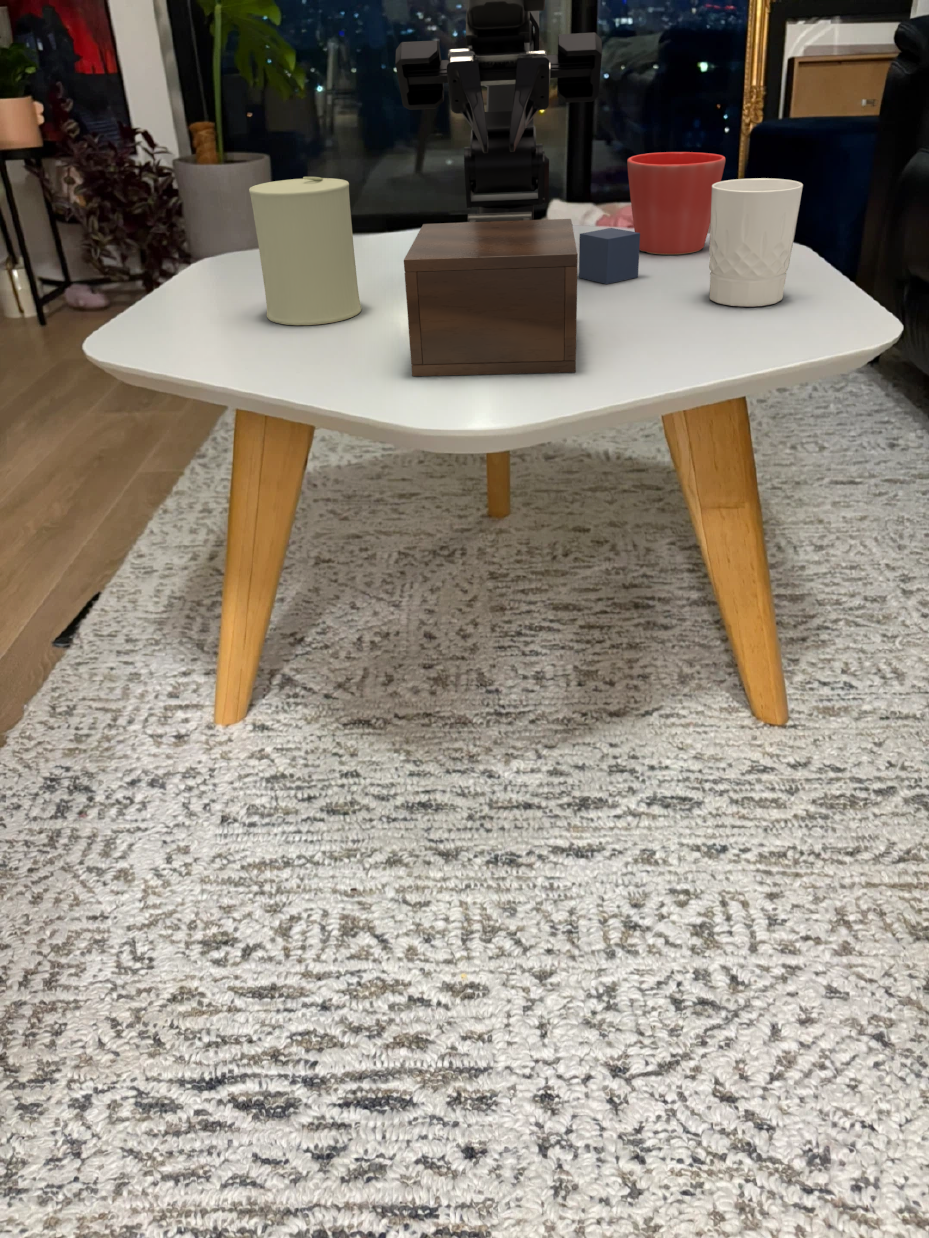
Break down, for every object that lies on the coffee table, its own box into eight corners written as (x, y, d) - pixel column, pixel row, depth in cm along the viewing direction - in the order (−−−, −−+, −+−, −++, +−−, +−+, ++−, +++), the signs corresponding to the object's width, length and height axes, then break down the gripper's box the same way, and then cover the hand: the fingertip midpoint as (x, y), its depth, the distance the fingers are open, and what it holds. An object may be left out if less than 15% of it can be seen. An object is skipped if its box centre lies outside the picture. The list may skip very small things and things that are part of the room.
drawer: (443, 292, 96) (438, 214, 93) (561, 288, 95) (561, 209, 92) (425, 344, 81) (419, 253, 77) (566, 341, 80) (567, 248, 76)
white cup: (791, 309, 89) (807, 190, 83) (702, 309, 90) (712, 192, 85) (785, 288, 95) (799, 177, 90) (702, 288, 97) (711, 179, 91)
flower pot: (737, 250, 111) (746, 157, 106) (652, 262, 108) (657, 166, 103) (687, 236, 120) (693, 148, 115) (607, 246, 117) (610, 157, 112)
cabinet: (429, 326, 89) (423, 224, 85) (569, 322, 88) (571, 218, 84) (412, 376, 77) (403, 259, 72) (575, 372, 76) (577, 253, 71)
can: (376, 303, 98) (365, 172, 91) (337, 327, 90) (321, 187, 84) (294, 299, 100) (277, 172, 94) (249, 323, 93) (228, 187, 87)
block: (578, 277, 103) (579, 233, 101) (610, 271, 105) (611, 227, 103) (606, 284, 100) (607, 239, 98) (638, 277, 102) (640, 233, 100)
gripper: (389, -64, 85) (383, 86, 82) (603, -77, 84) (608, 75, 80) (405, 39, 96) (401, 176, 93) (596, 29, 95) (599, 168, 91)
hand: (498, 149), depth 89 cm, fingers closed
